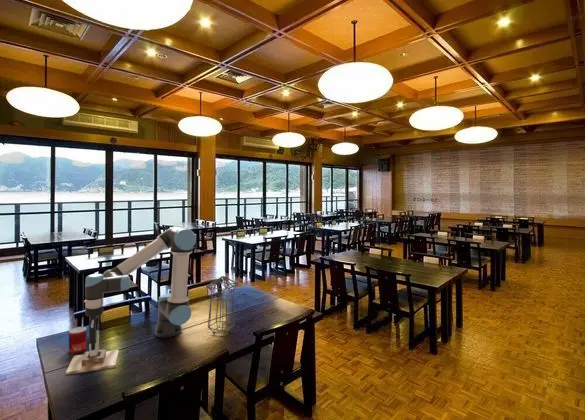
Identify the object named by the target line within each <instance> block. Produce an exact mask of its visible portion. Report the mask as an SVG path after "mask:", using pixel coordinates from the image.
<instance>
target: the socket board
mask: <svg viewBox="0 0 585 420" xmlns="http://www.w3.org/2000/svg"><path fill="white" fill-rule="evenodd" d="M119 353H120V350H119V349H115V350H107V349H106V348H105V349H99V356H98V357H91V358H89V351H84V354H77V355H74V356H73V357H72V359H71V361H70V363H69V365H68V368H67V369H66V371H65V375H73V374H81V373H86V372H92V371H100V370H106V369H113V368H116V366H117V362H118V357H119Z"/></svg>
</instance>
